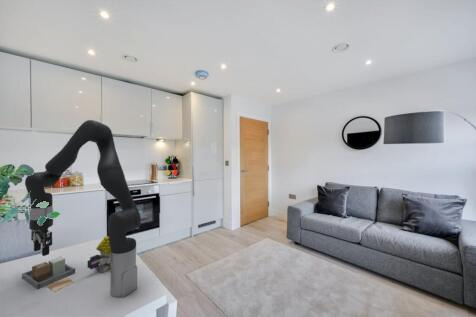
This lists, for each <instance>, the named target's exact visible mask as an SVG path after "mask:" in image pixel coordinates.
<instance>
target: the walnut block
mask: <svg viewBox="0 0 476 317" xmlns="http://www.w3.org/2000/svg"><path fill="white" fill-rule="evenodd" d="M31 270H32V279H34V280H35V281H37V282H41V281H43V280H45V279H48V278H50V264H49V262H46V261H44V262H41V263H39V264H35V265H33V266H32V267H31Z"/></svg>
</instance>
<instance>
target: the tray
mask: <svg viewBox="0 0 476 317" xmlns="http://www.w3.org/2000/svg"><path fill="white" fill-rule="evenodd" d="M74 274H76V268H74V267H73V266H71V265H69V264H68V263H67V264H66V263H65V272H62V273H60V274H57V275H55V276H52V275H50V278H48V279H45V280H43V281H41V282H37V281H35V280H34V279H32V269H31V270H28V271H26V272H23V273H21V279H23V281H25V282H26V283H28V284H29V285H31V286H32V287H33V288H34V289H36V290H41V289H42V288H44V287H46V286H48V285H50V284H52V283H54V282H57V281H59V280H61V279H63V278H66V277H67V278H68V277H69V276H72V275H74Z"/></svg>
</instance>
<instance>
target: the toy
mask: <svg viewBox="0 0 476 317" xmlns="http://www.w3.org/2000/svg"><path fill="white" fill-rule="evenodd" d="M96 251H98V252H99V254H95V255H93V256H90V257H89V259H88V260H87V265H86V266H87V269H90V270H94V269H95V271H96V272H98V273H101V274H102V273H104V272H106V271H109V270H111V247H110V244H109V235H107V236H104V237H103V239H102V240H101V242H99V244H98V245H97V246H96Z"/></svg>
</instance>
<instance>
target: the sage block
mask: <svg viewBox="0 0 476 317" xmlns="http://www.w3.org/2000/svg"><path fill="white" fill-rule="evenodd" d="M48 264H50V275H52V276H55V275H57V274H60V273H62V272H65V264H66V258H64V257H62V256H58V257H55V258H53V259H50V260H48Z"/></svg>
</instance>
